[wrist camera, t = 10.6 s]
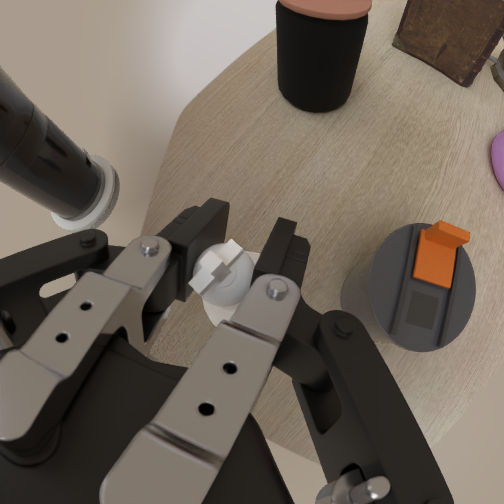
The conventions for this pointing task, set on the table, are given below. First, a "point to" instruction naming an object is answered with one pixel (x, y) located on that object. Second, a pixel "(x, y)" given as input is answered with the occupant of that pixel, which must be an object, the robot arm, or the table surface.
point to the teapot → (498, 157)
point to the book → (451, 34)
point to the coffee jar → (319, 50)
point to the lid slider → (438, 253)
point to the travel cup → (408, 295)
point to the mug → (498, 69)
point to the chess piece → (223, 278)
